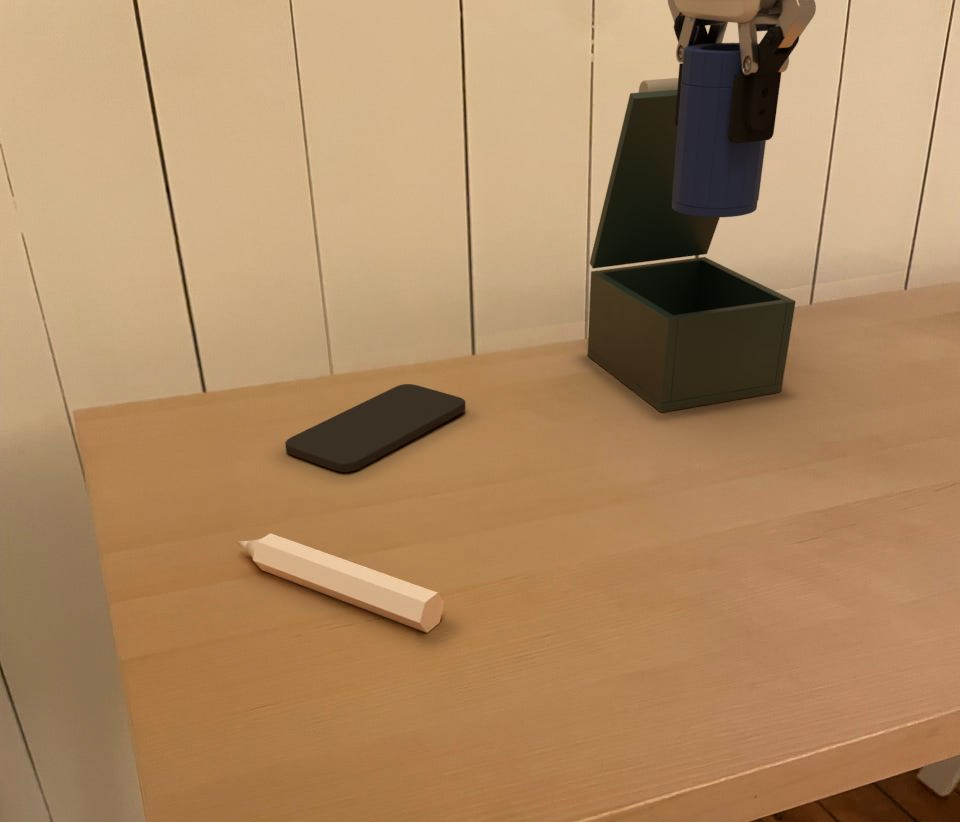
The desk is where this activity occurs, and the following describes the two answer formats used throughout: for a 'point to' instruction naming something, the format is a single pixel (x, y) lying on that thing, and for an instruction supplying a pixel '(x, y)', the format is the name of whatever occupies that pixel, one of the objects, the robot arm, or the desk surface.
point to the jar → (713, 139)
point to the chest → (688, 332)
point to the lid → (647, 188)
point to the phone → (374, 427)
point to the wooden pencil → (347, 581)
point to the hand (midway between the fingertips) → (722, 130)
